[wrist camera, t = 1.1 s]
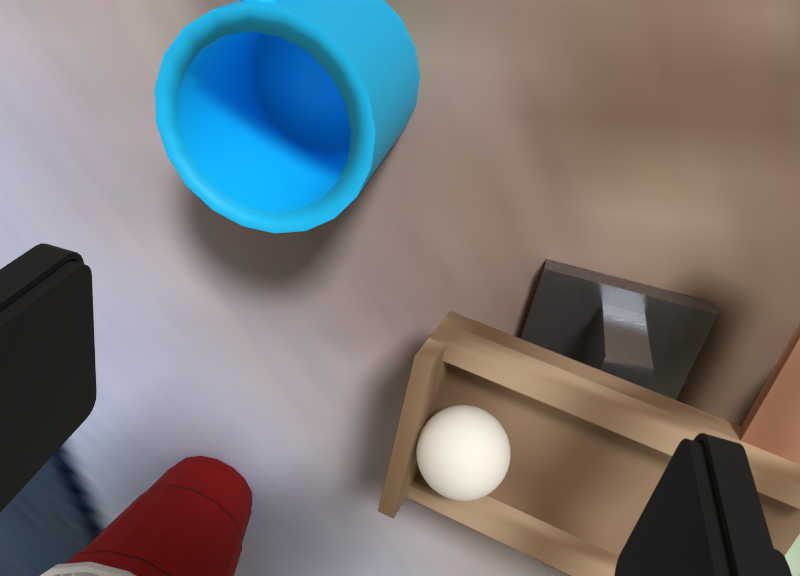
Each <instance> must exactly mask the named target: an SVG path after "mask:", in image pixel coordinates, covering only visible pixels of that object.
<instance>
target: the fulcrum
mask: <svg viewBox="0 0 800 576" xmlns="http://www.w3.org/2000/svg"><path fill="white" fill-rule="evenodd" d="M717 316H718V311H717V308H716V305H715V303H712V302H709V301H705V300H701V299H697V298H693V297H689V296H686V295H682V294H678V293H674V292H670V291H666V290H663V289H659V288H655V287H651V286H647V285H643V284H639V283H636V282H632V281H628V280H624V279H620V278H616V277H613V276H609V275H605V274H601V273H597V272H593V271H590V270H586V269H582V268H578V267H574V266H570V265H567V264H563V263H559V262H555V261H551V260H547V259H546V262H545V265H544V268H543V271H542V274H541V277H540V280H539V283H538V286H537V289H536V292H535V295H534V298H533V301H532V304H531V308H530V311H529V314H528V317H527V320H526V323H525V326H524V329H523V332H522V335H521V338H520V339H522V340H525V341H527V342H530V343H532V344H535V345H537V346H540V347H542V348H545V349H548V350H550V351H553V352H555V353H558V354H560V355H563V356H565V357H568V358H570V359H573V360H575V361H578V362H580V363H583V364H586V365H588V366H591V367H593V368H596V369H598V370H601V371H603V372H606V373H608V374H611V375H613V376H616V377H618V378H621V379H624V380H626V381H629V382H631V383H634V384H636V385H639V386H641V387H644V388H646V389H649V390H651V391H654V392H656V393H659V394H662V395H664V396H667V397H669V398H672V399H674V400H676V399H677V397H678V395H679V393H680V391H681V389H682V387H683V385H684V383H685V381H686V379H687V377H688V375H689V373H690V371H691V369H692V367H693V365H694V363H695V361H696V359H697V357H698V355H699V353H700V351H701V349H702V346H703V344H704V342H705V340H706V338H707V336H708V334H709V332H710V330H711V328H712V326H713V324H714V322H715V320H716V318H717Z"/></svg>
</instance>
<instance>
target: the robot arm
mask: <svg viewBox="0 0 800 576" xmlns="http://www.w3.org/2000/svg"><path fill="white" fill-rule="evenodd" d="M95 401H96V371H95V345H94V320H93V294H92V273H91V269H90V267H89V266H87V265H85V264H84V262H83V259H82V257H81V255H80V254H78V253H76V252H73V251H69V250H66V249H62V248H59V247H55V246H52V245H49V244H39V245H37V246H35V247H33V248H32V249H30V250H29V251H27V252H26V253H24V254H23V255H21V256H20V257H18V258H17V259H15V260H14V261H12V262H11V263H9V264H8V265H6V266H5V267H3V268H2V269H0V512H1V511H2V510H3V509H4V508H5V507H6V505H7V504H8V503H9V502H10V501H11V500H12V499H13V498H14V497H15V496H16V495H17V493H18V492H19V491H20V490H21V489H22V488H23V487H24V486H25V485H26V484H27V483H28V482H29V480H30V479H31V478H32V477H33V476H34V475H35V474H36V473H37V472H38V471H39V470H40V468H41V467H42V466H43V465H44V464H45V463H46V462H47V461H48V460H49V459H50V458H51V456H52V455H53V454H54V453H55V452H56V451H57V450H58V449H59V448H60V447H61V446H62V445H63V443H64V442H65V441H66V440H67V439H68V438H69V437H70V436H71V435H72V434H73V433H74V431H75V430H76V429H77V428H78V427H79V426H80V425H81V424H82V423H83V422H84V421H85V419H86V418H87V417H88V416H89V415H90V413H91V411H92V409H93V407H94V404H95ZM615 576H792V574H791V571H790V568H789V565H788V563H787V561H786V558H785V556H784V555H783V554H782V553H781V552H780V551H779V550H776V549H774V547H773V544H772V540H771V537H770V533H769V530H768V526H767V523H766V520H765V516H764V513H763V509H762V506H761V503H760V499H759V496H758V492H757V489H756V485H755V482H754V479H753V475H752V472H751V468H750V465H749V461H748V458H747V455H746V451H745V449H744V447H743V446H742V445H741V444H740V443H736V442H733V441H729V440H726V439H722V438H719V437H715V436H712V435H708V434H705V433H699V434H698V435H697V436H696V437H695V438H694V440H690V439H687V438H685V439H683V440H682V441H681V442H680V443H679V445H678V447H677V448H676V450H675V452H674V454H673V456H672V458H671V460H670V462H669V463H668V465H667V467H666V469H665V471H664V473H663V475H662V477H661V478H660V480H659V482H658V484H657V486H656V488H655V490H654V491H653V493H652V495H651V497H650V499H649V501H648V503H647V505H646V506H645V508H644V510H643V512H642V514H641V516H640V518H639V519H638V521H637V523H636V525H635V527H634V529H633V531H632V533H631V534H630V536H629V538H628V540H627V542H626V544H625V546H624V547H623V549H622V551H621V553H620V555H619V558H618V561H617V564H616V569H615Z"/></svg>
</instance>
